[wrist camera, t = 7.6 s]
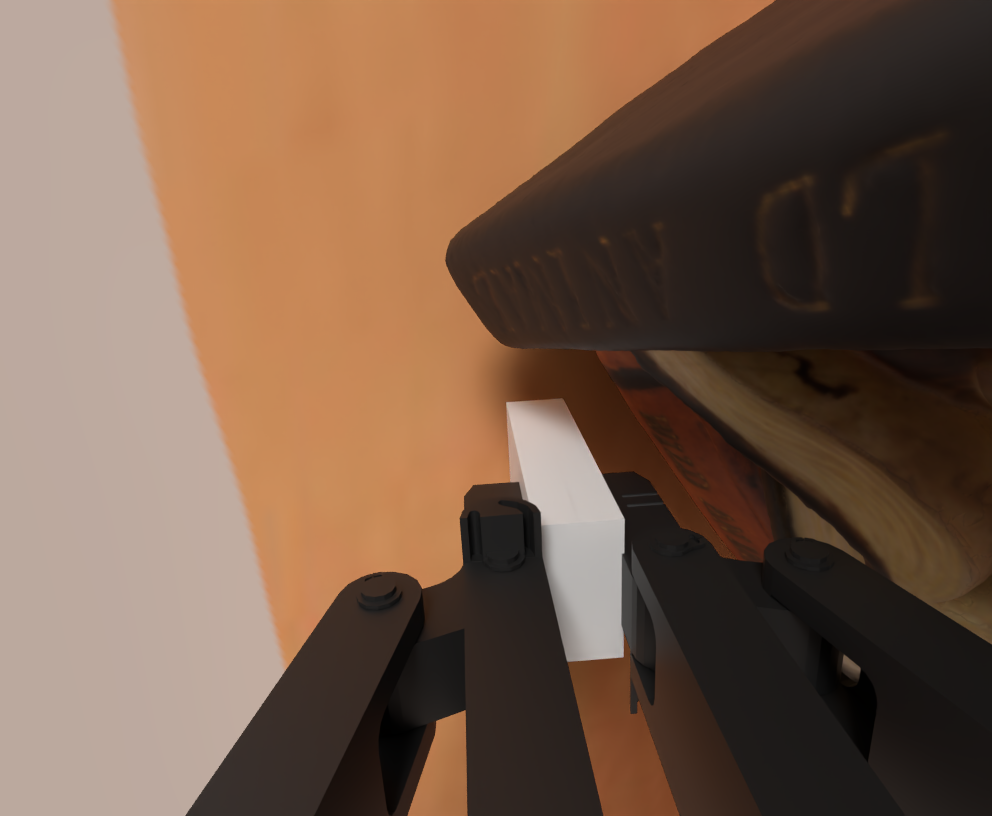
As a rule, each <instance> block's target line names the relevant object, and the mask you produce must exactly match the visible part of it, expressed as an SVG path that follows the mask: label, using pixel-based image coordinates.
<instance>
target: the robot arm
mask: <svg viewBox="0 0 992 816" xmlns="http://www.w3.org/2000/svg"><path fill="white" fill-rule="evenodd" d="M506 409H507V427H508V446H509V465H510V483H497V484H483V485H473V486H472V488H471V489H470V490H469V491H468V492H467V494H466V495H465V496H464V510H463V512H462V514H461V517H460V528H461V540H462V552H463V566H462V568H461V570H460V571H459V572H458V573H457V574H455V575H454V576H453V577H452V578H450V579H448V580H446V581H445V582H442V583H440V584H437V585H434V586H431V587H428V588H424V589H422V588H421V586H420V584H419V583H418V581H417V580H416V579H414V578H413V577H411V576H409V575H407V574H403V573H397V572H378V573H373V574H369V575H366V576H364V577H361V578H359V579H357V580H355V581H353V582H351V583H350V584H348V585H347V586H346V587H345V588H344V589H343V590H342V591H341V592H340V593H339V594H338V596H337V597H336V599H335V600H334V602H333V603H332V604H331V606H330V607H329V609H328V610H327V612H326V613H325V615H324V616H323V617H322V619H321V620H320V622H319V623H318V625H317V626H316V628H315V629H314V630H313V632H312V633H311V635H310V636H309V638H308V639H307V641H306V642H305V643H304V645H303V646H302V648H301V649H300V651H299V652H298V654H297V655H296V656H295V658H294V659H293V661H292V662H291V664H290V665H289V667H288V668H287V669H286V671H285V672H284V674H283V675H282V677H281V678H280V680H279V681H278V683H277V684H276V685H275V687H274V688H273V690H272V691H271V693H270V694H269V696H268V697H267V698H266V700H265V701H264V703H263V704H262V706H261V707H260V709H259V710H258V711H257V713H256V714H255V716H254V717H253V719H252V720H251V722H250V723H249V724H248V726H247V727H246V729H245V730H244V732H243V733H242V735H241V736H240V737H239V739H238V740H237V742H236V743H235V745H234V746H233V748H232V749H231V750H230V752H229V753H228V755H227V756H226V758H225V759H224V761H223V762H222V764H221V765H220V766H219V768H218V770H217V771H216V772H215V774H214V775H213V776H212V778H211V779H210V781H209V782H208V784H207V785H206V787H205V788H204V790H203V791H202V792H201V794H200V795H199V797H198V798H197V800H196V801H195V803H194V804H193V805H192V807H191V808H190V810H189V811H188V813H187V814H186V816H407V815H408V812H409V809H410V806H411V803H412V800H413V797H414V794H415V791H416V788H417V786H418V783H419V780H420V777H421V774H422V771H423V768H424V765H425V762H426V759H427V756H428V753H429V750H430V747H431V744H432V742H433V739H434V736H435V729H436V721H437V720H439V719H442V718H445V717H448V716H450V715H453V714H456V713H459V712H461V711H464V710H466V750H467V809H468V816H603V812H602V808H601V804H600V800H599V795H598V791H597V787H596V783H595V778H594V774H593V770H592V765H591V761H590V757H589V753H588V748H587V744H586V740H585V736H584V731H583V727H582V723H581V719H580V714H579V710H578V706H577V702H576V697H575V693H574V689H573V685H572V680H571V676H570V672H569V667H568V663H567V662H573V661H585V660H597V659H609V658H620V657H624V634H625V636H626V639H627V642H628V644H629V647H630V650H631V653H630V712H631V714H636V713H637V702H638V701H640V704H641V707H642V710H643V713H644V716H645V718H646V721H647V724H648V727H649V730H650V733H651V735H652V738H653V741H654V744H655V747H656V750H657V752H658V755H659V758H660V761H661V764H662V767H663V769H664V772H665V775H666V778H667V781H668V783H669V786H670V789H671V792H672V795H673V798H674V800H675V803H676V806H677V809H678V812H679V815H680V816H992V644H990V643H989V642H987V641H986V640H984V639H982V638H981V637H979V636H978V635H976V634H975V633H973V632H971V631H970V630H968V629H967V628H965V627H963V626H962V625H960V624H959V623H957V622H955V621H954V620H952V619H951V618H949V617H948V616H946V615H944V614H943V613H941V612H940V611H938V610H936V609H935V608H933V607H932V606H930V605H929V604H927V603H925V602H924V601H922V600H921V599H919V598H917V597H916V596H914V595H913V594H911V593H909V592H908V591H906V590H905V589H903V588H902V587H900V586H898V585H897V584H895V583H894V582H892V581H890V580H889V579H887V578H886V577H884V576H882V575H881V574H879V573H878V572H876V571H875V570H873V569H871V568H870V567H868V566H867V565H865V564H863V563H862V562H860V561H859V560H857V559H856V558H854V557H852V556H851V555H849V554H848V553H846V552H844V551H843V550H841V549H839V548H837V547H834V546H832V545H830V544H828V543H824V542H821V541H817V540H815V539H812V538H805V537H804V538H802V537H793V538H785V539H779V540H776V541H774V542H771V543H769V544H768V546H767V547H766V548H765V549H764V555H763V563H762V562H752V561H742V560H734V559H728V558H722V557H720V556H719V554H718V553H717V551H716V550H715V549H714V547H713V546H712V544H711V543H710V542H709V541H708V540H707V539H705V538H704V537H703V536H702V535H700V534H697V533H695V532H693V531H691V530H687V529H682V528H680V526H679V525H678V523H677V522H676V520H675V519H674V517H673V516H672V514H671V513H670V511H669V510H668V508H667V507H666V505H665V504H663V501H662V499H661V498H660V496H659V495H657V492H656V490H655V489H654V487H653V486H652V484H651V483H650V481H649V480H647V479H645V478H643V477H642V476H640V475H638V474H637V473H635V472H621V473H608V474H601V472H600V470H599V468H598V466H597V464H596V462H595V460H594V458H593V456H592V454H591V452H590V450H589V448H588V446H587V444H586V442H585V440H584V438H583V437H582V435H581V433H580V431H579V429H578V427H577V425H576V423H575V421H574V419H573V417H572V415H571V413H570V411H569V409H568V407H567V405H566V403H565V401H564V399H563V398H559V399H545V400H530V401H516V402H506ZM844 655H845V656H847V657H848V658H849V659H850V660H852V661H853V662H854V663H855V664H856V665H858V666H859V667H860V668H861V670H860V677H859V681H858V683H856V682H855V681H853V680H851V679H850V678H849V677H848V676H846V675H845V674H844V673H843V672H842V664H843V657H844Z"/></svg>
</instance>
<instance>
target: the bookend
mask: <svg viewBox="0 0 992 816" xmlns="http://www.w3.org/2000/svg"><path fill="white" fill-rule="evenodd" d="M445 261H446V265H447V267H448V270H449V272H450V274H451V276H452V278H453V280H454V282H455V284H456V285H457V287H458V288H459V290H460V291H461V293H462V294H463V296H464V297H465V298H466V300H467V301H468V303H469V304H470V306H471V307H472V309H473V310H474V311H475V313H476V314H477V316H478V317H479V319H480V320H481V321H482V323H483V324H484V325H485V327H486V328H487V330H488V331H489V332H490V333H491V334H492V335H493V336H494V337H495V338H496V339H497V340H498V341H499V342H500V343H502V344H504V345H506V346H509V347H512V348H521V349H535V348H539V349H540V348H542V349H582V350H595V352H596V354H597V356H598V357H599V359H600V361H601V363H602V365H603V366H604V368H605V369H606V371H607V373H608V374H609V376H610V378H611V379H612V381H613V382H614V383H615V385H616V386H617V388H618V390H619V391H620V393H621V395H622V396H623V398H624V400H625V401H626V403H627V405H628V407H629V408H630V410H631V411H632V413H633V414H634V416H635V417H636V419H637V420H638V422H639V423H640V424H641V426H642V427H643V429H644V430H645V431H646V433H647V434H648V435H649V437H650V438H651V440H652V441H653V443H654V444H655V446H656V447H657V448H658V450H659V451H660V453H661V454H662V456H663V457H664V459H665V460H666V461H667V463H668V465H669V466H670V468H671V469H672V471H673V472H674V474H675V475H676V477H677V478H678V479H679V481H680V482H681V484H682V485H683V486H684V488H685V489H686V491H687V492H688V493H689V495H690V496H691V498H692V499H693V501H694V503H695V504H696V505H697V507H698V508H699V509H700V511H701V512H702V513H703V515H704V516H705V517H706V519H707V520H708V522H709V523H710V525H711V526H712V527H713V529H714V530H715V532H716V533H717V534H718V536H719V537H720V538H721V540H722V541H723V542H724V543H725V545H726V546H727V547H728V548H729V550H730V551H731V552H732V553H733V554H734V556H735V557H736V558H737V559H738V560H742V561H752V562H762V563H763V555H764V549H765V548H766V547H767V546H768V544H769V543H771V542H774V541H776V540H779V539H785V538H793V537H802V538H804V537H805V538H812V539H815V540H817V541H821V542H824V543H828V544H830V545H832V546H834V547H837V548H839V549H841V550H843V551H844V552H846V553H848V554H849V555H851V556H852V557H854V558H856V559H857V560H859V561H860V562H862V563H863V564H865V565H867V566H868V567H870V568H871V569H873V570H875V571H876V572H878V573H879V574H881V575H882V576H884V577H886V578H887V579H889V580H890V581H892V582H894V583H895V584H897V585H898V586H900V587H902V588H903V589H905V590H906V591H908V592H909V593H911V594H913V595H914V596H916V597H917V598H919V599H921V600H922V601H924V602H925V603H927V604H929V605H930V606H932V607H933V608H935V609H936V610H938V611H940V612H941V613H943V614H944V615H946V616H948V617H949V618H951V619H952V620H954V621H955V622H957V623H959V624H960V625H962V626H963V627H965V628H967V629H968V630H970V631H971V632H973V633H975V634H976V635H978V636H979V637H981V638H982V639H984V640H986V641H987V642H989V643H990V644H992V0H776V1H774V2H773V3H772V4H770V5H769V6H767V7H766V8H764V9H763V10H761V11H760V12H758V13H757V14H756V15H754V16H753V17H751V18H750V19H748V20H747V21H745V22H744V23H742V24H741V25H739V26H737V27H736V28H734V29H733V30H731V31H730V32H728V33H726V34H725V35H723V36H722V37H720V38H719V39H717V40H716V41H714V42H713V43H711V44H710V45H708V46H707V47H705V48H704V49H702V50H701V51H699V52H698V53H697V54H696V55H694V56H693V57H692V58H691V59H689V60H688V61H687V62H685V63H684V64H683V65H681V66H680V67H679V68H677V69H676V70H674V71H673V72H671V73H670V74H668V75H667V76H665V77H664V78H663V79H662V80H660V81H658V82H657V83H656V84H655V85H653V86H652V87H650V88H649V89H647V90H646V91H644V92H643V93H641V94H640V95H638V96H637V97H636V98H634V99H633V100H631V101H630V102H628V103H627V104H626V105H624V106H623V107H622V108H620V109H619V110H618V111H616V112H615V113H614V114H613V115H611V116H610V117H609V118H608V119H606V120H605V121H604V122H603V123H602V124H600V125H599V126H598V127H597V128H595V129H594V130H593V131H592V132H591V133H589V134H588V135H587V136H585V137H584V138H583V139H582V140H580V141H579V142H578V143H576V144H575V145H574V146H573V147H572V148H570V149H569V150H568V151H566V152H565V153H564V154H562V155H561V156H559V157H558V158H557V159H556V160H554V161H553V162H552V163H550V164H549V165H548V166H546V167H545V168H543V169H542V170H540V171H539V172H538V173H537V174H535V175H534V176H533V177H532V178H531V179H529V180H528V181H526V182H525V183H523V184H522V185H520V186H519V187H518V188H516V189H515V190H514V191H513V192H511V193H510V194H508V195H507V196H506V197H504V198H503V199H502V200H501V201H499V202H497V203H496V204H495V205H494V206H493V207H491V208H490V209H489V210H488V211H486V212H485V213H483V214H482V215H480V216H479V217H477V218H476V219H475V220H473V221H472V222H471V223H469V224H468V225H467V226H465V227H464V228H462V229H461V230H460V231H459V232H458V233H457V234H456V235H455V237H454V238H453V239H452V240H451V241H450V243H449V246H448V249H447V253H446V260H445ZM860 670H861V668H860V667H859V666H858V665H856V664H855V663H854V662H853V661H852V660H850V659H849V658H848V657H847V656H845V655H844V657H843V664H842V672H843V673H844V674H845V675H846V676H848V677H849V678H850V679H851V680H853V681H855V682H856V683H858V681H859V677H860Z"/></svg>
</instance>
